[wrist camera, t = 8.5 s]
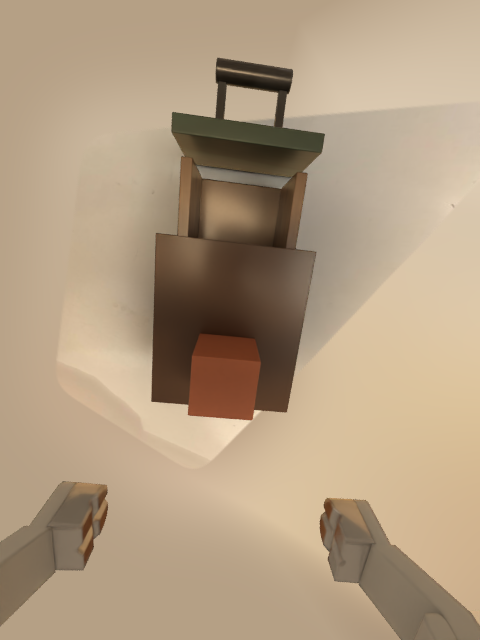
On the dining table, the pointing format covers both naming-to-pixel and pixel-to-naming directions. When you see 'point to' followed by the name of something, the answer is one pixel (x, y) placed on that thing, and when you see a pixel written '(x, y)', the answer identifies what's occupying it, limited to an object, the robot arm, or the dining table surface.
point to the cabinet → (228, 310)
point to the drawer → (243, 165)
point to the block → (224, 377)
